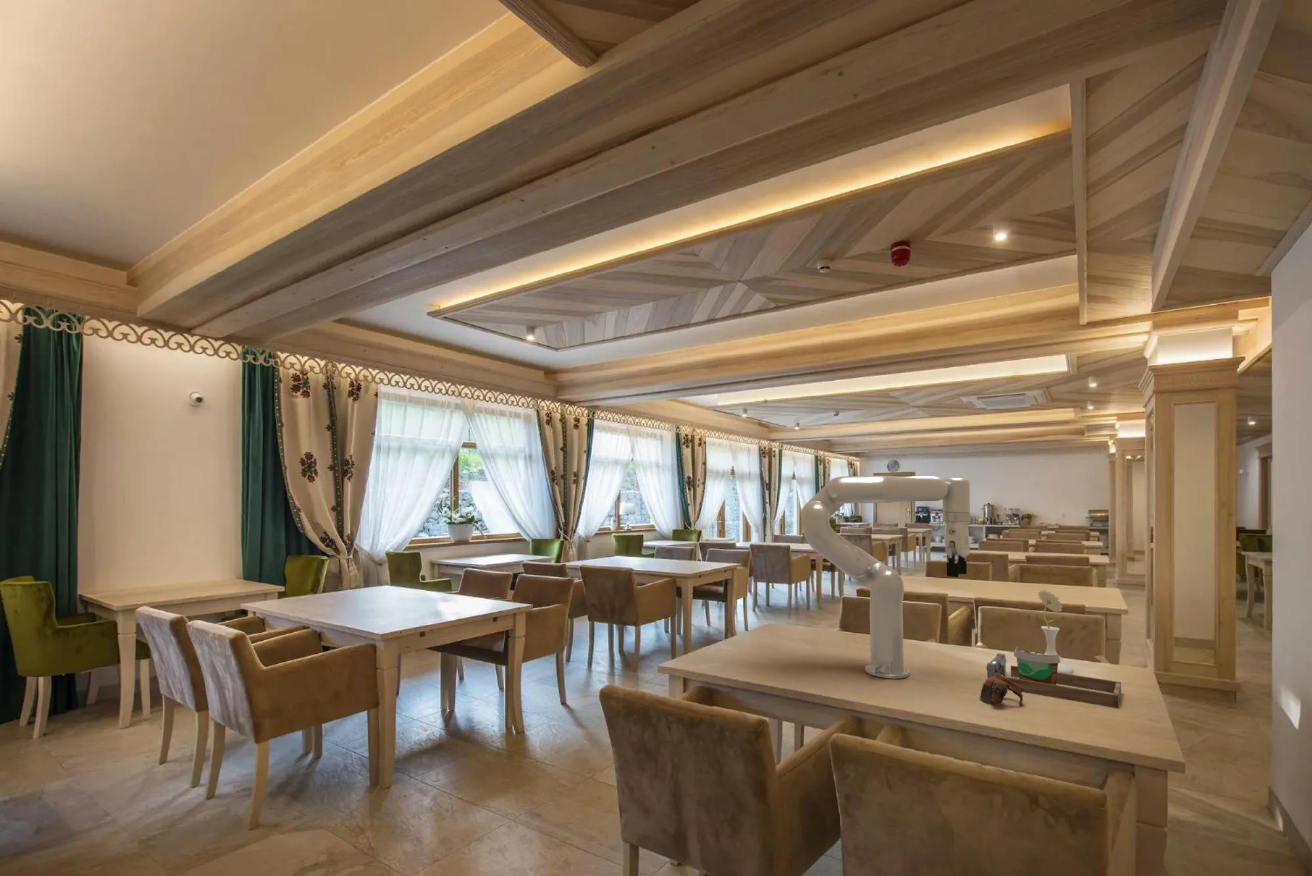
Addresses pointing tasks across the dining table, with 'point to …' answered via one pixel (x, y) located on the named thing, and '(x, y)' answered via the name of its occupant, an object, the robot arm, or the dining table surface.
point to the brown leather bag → (999, 689)
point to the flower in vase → (1053, 629)
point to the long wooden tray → (1071, 692)
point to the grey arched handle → (997, 666)
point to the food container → (1037, 666)
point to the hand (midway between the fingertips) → (956, 575)
